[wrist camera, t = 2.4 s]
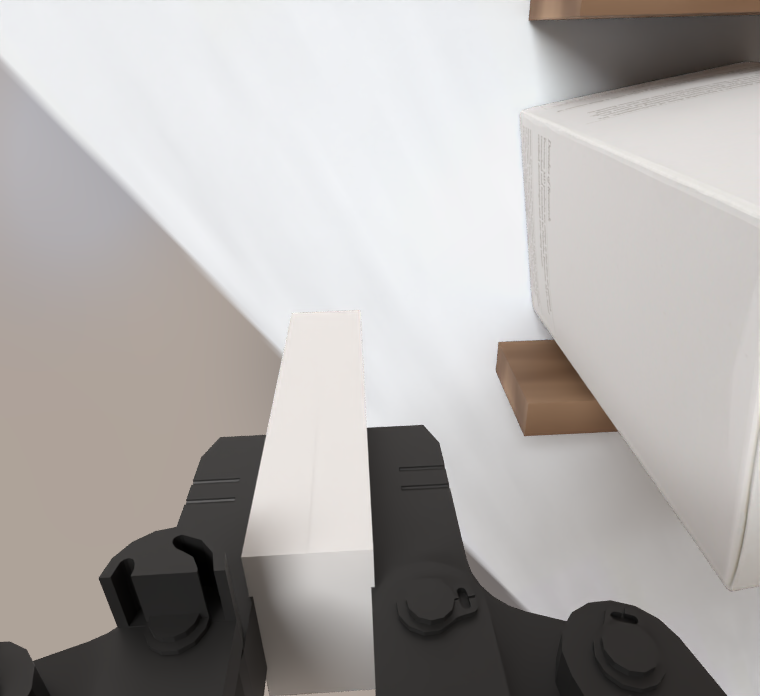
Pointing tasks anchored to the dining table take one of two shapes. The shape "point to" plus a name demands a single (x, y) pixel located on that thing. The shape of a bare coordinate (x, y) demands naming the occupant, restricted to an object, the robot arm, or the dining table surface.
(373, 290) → the dining table surface
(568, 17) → the wooden blocks
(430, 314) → the dining table surface
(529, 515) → the dining table surface
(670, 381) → the supplement box
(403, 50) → the dining table surface
